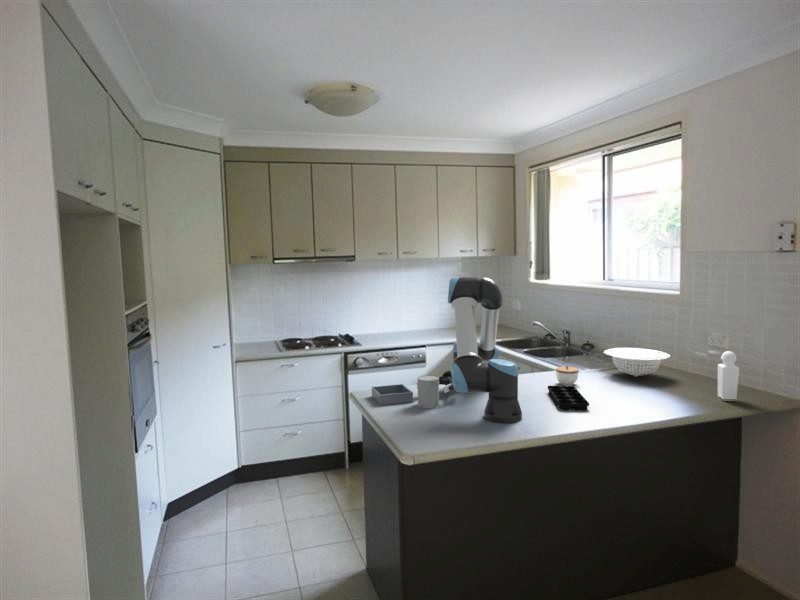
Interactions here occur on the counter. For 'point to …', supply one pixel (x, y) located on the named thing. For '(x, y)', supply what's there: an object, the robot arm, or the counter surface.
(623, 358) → the colander
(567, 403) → the egg carton
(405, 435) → the counter surface
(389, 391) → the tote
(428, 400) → the gray cylinder
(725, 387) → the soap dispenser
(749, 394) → the counter surface
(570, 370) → the lidded jar
